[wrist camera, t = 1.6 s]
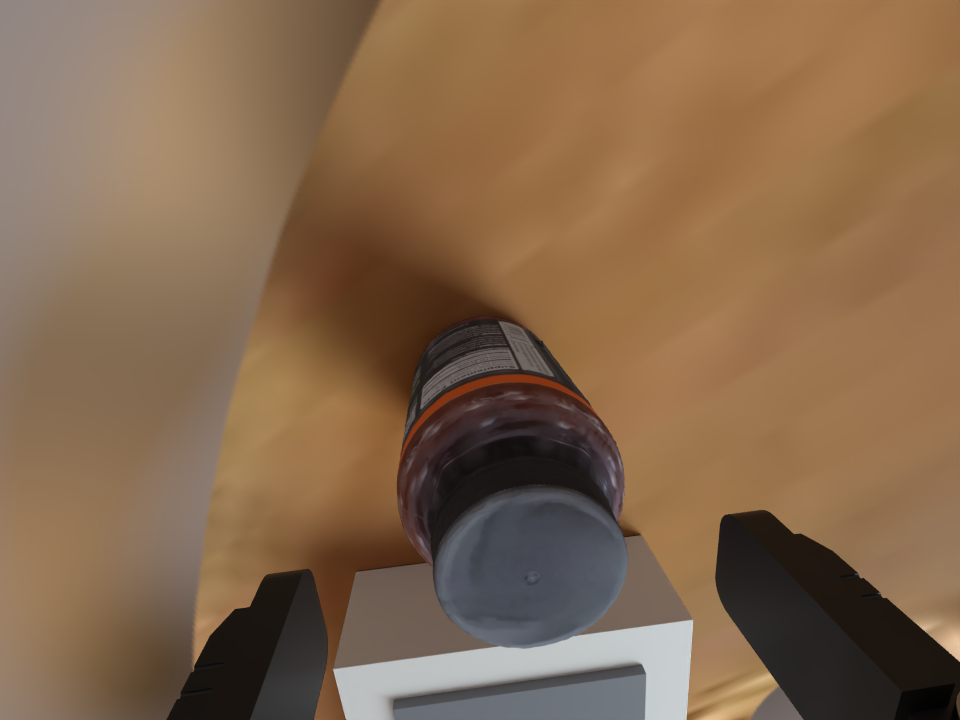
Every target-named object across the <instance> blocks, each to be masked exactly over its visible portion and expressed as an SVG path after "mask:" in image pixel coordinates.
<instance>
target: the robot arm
mask: <svg viewBox="0 0 960 720" xmlns="http://www.w3.org/2000/svg"><path fill="white" fill-rule="evenodd" d="M715 579H716V587H717V591H718V594H719V597H720V600H721V602H722V604H723V606H724V608H725V610H726V611H727V613H728V614H729V616H730V617H731V619H732V620H733V621H734V623H735V624H736V626H737V627H738V628H739V630H740V631H741V633H742V634H743V635H744V637H745V638H746V640H747V641H748V642H749V644H750V645H751V647H752V648H753V649H754V651H755V652H756V654H757V655H758V656H759V658H760V659H761V661H762V662H763V663H764V665H765V666H766V668H767V669H768V670H769V672H770V673H771V675H772V676H773V677H774V679H775V680H776V682H777V683H778V684H779V686H780V687H781V689H782V690H783V691H784V692H785V694H786V695H787V697H788V698H789V700H790V701H791V703H792V704H793V705H794V707H795V708H796V709H797V711H798V712H799V714H800V715H801V716H802V718H803V719H804V720H960V662H959V661H958V660H957V659H956V658H955V657H953V656H952V655H951V654H950V653H949V652H948V651H947V650H945V649H944V648H943V647H942V646H941V645H940V644H938V643H937V642H936V641H935V640H934V639H933V638H932V637H930V636H929V635H928V634H927V633H926V632H925V631H924V630H922V629H921V628H920V627H919V626H918V625H917V624H916V623H914V622H913V621H912V620H911V619H910V618H909V617H908V616H906V615H905V614H904V613H903V612H902V611H901V610H900V609H898V608H897V607H896V606H895V605H894V604H893V603H892V602H890V601H889V600H888V599H887V598H882V596H881V594H880V592H879V591H878V590H877V589H876V588H874V587H873V586H872V585H871V584H870V583H869V582H868V581H866V580H865V579H864V578H860V577H859V575H858V573H857V572H856V571H855V570H854V569H853V568H852V567H850V566H849V565H848V564H847V563H846V562H845V561H844V560H842V559H841V558H840V557H839V556H838V555H837V554H836V553H834V552H833V551H832V550H830V549H828V548H826V547H824V546H823V545H821V544H819V543H817V542H815V541H814V540H812V539H810V538H808V537H806V536H804V535H803V534H793V533H792V532H791V531H790V530H789V529H788V528H787V527H786V526H785V525H783V524H782V523H781V522H780V521H779V520H778V519H777V518H776V517H775V516H774V515H772V514H771V513H770V512H768V511H765V510H758V511H750V512H743V513H735V514H728V515H725V516H723V518H722V520H721V523H720V532H719V543H718V553H717V564H716V575H715ZM327 655H328V638H327V630H326V625H325V621H324V617H323V613H322V609H321V605H320V601H319V597H318V593H317V589H316V585H315V581H314V577H313V574H312V572H311V571H310V570H309V569H303V570H296V571H288V572H281V573H273V574H268V575H266V576H265V577H264V578H263V580H262V582H261V584H260V586H259V588H258V590H257V593H256V595H255V597H254V599H253V601H252V604H251V606H250V607H247V608H240V609H235V610H234V611H233V612H232V613H231V614H230V615H229V616H228V617H227V618H226V619H225V620H224V621H223V623H222V624H221V625H220V626H219V627H218V628H217V629H216V630H215V631H214V632H213V633H212V634H211V635H210V637H209V639H208V641H207V643H206V645H205V647H204V648H203V650H202V652H201V654H200V656H199V658H198V660H197V662H196V664H195V666H194V672H191V673H190V675H189V677H188V679H187V681H186V683H185V685H184V687H183V689H182V691H181V697H180V699H177V700H176V702H175V704H174V706H173V708H172V710H171V712H170V714H169V716H168V718H167V720H314V716H315V712H316V708H317V703H318V699H319V695H320V690H321V686H322V682H323V678H324V673H325V669H326V664H327Z"/></svg>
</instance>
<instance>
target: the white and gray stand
mask: <svg viewBox="0 0 960 720" xmlns="http://www.w3.org/2000/svg"><path fill="white" fill-rule="evenodd" d="M624 539H625V543H626V546H627V555H628V563H627V572H626V577H625V581H624V583H623V586H622V588H621V591H620V592H619V594H618V597H617V599H616V600H615V602H614V603H613V604H612V606H611V607H610V608H609V609H608V611H607V612H606V613H605V614H604V615H603V616H602V617H601V618H600V619H599V620H598V621H597V622H596V623H595V624H593V625H591V626H590V627H588V628H587V629H586V630H584V631H582V632H580V633H578V634H576V635H575V636H573V637H571V638H569V639H567V640H563V641H560V642H557V643H553V644H549V645H545V646H540V647H533V648H526V649H522V648H506V647H501V646H497V645H493V644H490V643H486V642H484V641H482V640H480V639H477V638H475V637H472V636H470V635H468V634H467V633H466V632H465V631H463V630H462V629H460V628H459V627H458V626H457V625H456V624H455V623H453V622H452V621H451V620H450V619H449V618H448V617H447V615H446V614H445V612H444V610H443V609H442V607H441V605H440V603H439V600H438V598H437V595H436V593H435V588H434V581H433V568H432V567H431V566H430V565H429V564H428V563H422V564H414V565H406V566H399V567H391V568H383V569H375V570H368V571H360V572H356V573H355V578H354V582H353V586H352V591H351V595H350V599H349V603H348V608H347V612H346V616H345V620H344V625H343V629H342V633H341V637H340V642H339V646H338V650H337V655H336V659H335V663H334V667H333V671H334V675H335V679H336V683H337V687H338V690H339V694H340V698H341V702H342V706H343V710H344V714H345V718H346V720H686V717H687V702H688V687H689V673H690V658H691V644H692V629H693V619H692V617H691V615H690V614H689V612H688V610H687V609H686V607H685V605H684V604H683V602H682V600H681V599H680V597H679V596H678V594H677V592H676V591H675V589H674V587H673V586H672V584H671V582H670V581H669V579H668V577H667V576H666V574H665V572H664V571H663V569H662V567H661V566H660V564H659V562H658V561H657V559H656V557H655V556H654V554H653V552H652V551H651V549H650V548H649V546H648V544H647V543H646V541H645V539H644V538H643V536H642V535H639V536H631V537H624Z"/></svg>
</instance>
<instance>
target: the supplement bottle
mask: <svg viewBox="0 0 960 720" xmlns="http://www.w3.org/2000/svg"><path fill="white" fill-rule="evenodd" d="M397 496H398V508H399V513H400V517H401V521H402V525H403V528H404V530H405V532H406V534H407V537H408V538H409V540H410V541H411V543H412V545H413V546H414V548H415V549H416V550H417V552H418V553H419V554H420V555H421V557H422V558H423V559H424V560H425V561H426V562H427V563H428V564H429V565H430V566H431V567H432V568H433V581H434V588H435V593H436V595H437V598H438V600H439V603H440V605H441V607H442V609H443V610H444V612H445V614H446V615H447V617H448V618H449V619H450V620H451V621H452V622H453V623H455V624H456V625H457V626H458V627H459V628H460V629H462V630H463V631H465V632H466V633H467V634H468V635H470V636H472V637H475V638H477V639H480V640H482V641H484V642H486V643H490V644H493V645H497V646H501V647H506V648H522V649H526V648H533V647H540V646H545V645H549V644H553V643H557V642H560V641H563V640H567V639H569V638H571V637H573V636H575V635H576V634H578V633H580V632H582V631H584V630H586V629H587V628H588V627H590V626H591V625H593V624H595V623H596V622H597V621H598V620H599V619H600V618H601V617H602V616H603V615H604V614H605V613H606V612H607V611H608V609H609V608H610V607H611V606H612V604H613V603H614V602H615V600H616V599H617V597H618V594H619V592H620V591H621V588H622V586H623V583H624V581H625V577H626V572H627V563H628V555H627V546H626V543H625V539H624V536H623V533H622V530H621V528H620V526H619V524H618V519H619V517H620V513H621V511H622V506H623V500H624V496H625V485H624V469H623V463H622V460H621V456H620V453H619V450H618V447H617V446H616V442H615V440H614V439H613V437H612V435H611V433H610V432H609V430H608V429H607V427H606V426H605V425H604V423H603V422H602V420H601V419H600V418H599V416H598V415H597V414H596V412H595V411H594V410H593V408H592V407H591V405H590V403H589V402H588V400H587V399H586V398H585V397H584V396H583V394H582V393H581V392H580V391H579V389H578V388H577V387H576V386H575V384H574V383H573V382H572V380H571V379H570V377H569V376H568V375H567V374H566V372H565V371H564V370H563V369H562V367H561V366H560V364H559V363H558V362H557V361H556V359H555V358H554V357H553V356H552V354H551V353H550V351H549V350H548V349H547V347H546V346H545V345H544V343H543V341H540V340H539V339H538V338H537V336H535V335H534V334H533V333H532V332H531V331H529V330H528V329H526V328H525V327H523V326H522V325H519V324H517V323H515V322H512V321H509V320H507V319H502V318H497V317H475V318H471V319H466V320H463V321H461V322H458V323H456V324H453V325H452V326H450V327H448V328H447V329H445V330H443V331H442V332H441V333H440V334H438V335H437V336H436V337H435V338H434V339H433V340H432V341H431V342H430V343H429V345H428V346H427V348H426V349H425V351H424V352H423V354H422V356H421V358H420V360H419V362H418V365H417V368H416V371H415V374H414V379H413V384H412V390H411V396H410V402H409V407H408V414H407V419H406V424H405V431H404V438H403V444H402V450H401V456H400V463H399V469H398V475H397Z"/></svg>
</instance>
